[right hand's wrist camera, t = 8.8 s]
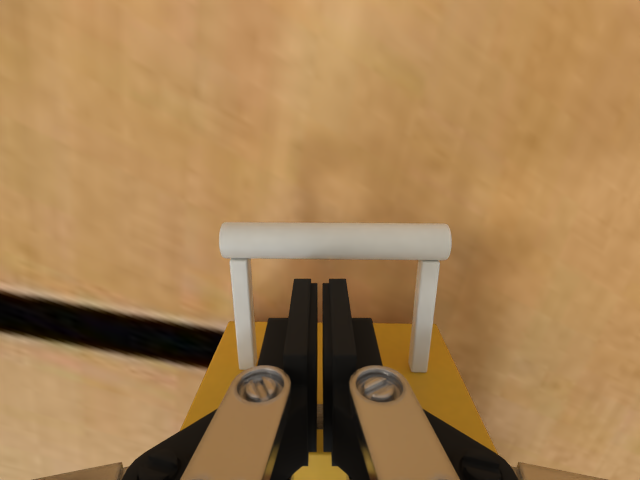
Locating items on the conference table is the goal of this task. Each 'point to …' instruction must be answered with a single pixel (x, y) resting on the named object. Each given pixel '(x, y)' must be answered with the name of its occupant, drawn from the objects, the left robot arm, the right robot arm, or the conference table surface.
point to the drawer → (393, 338)
